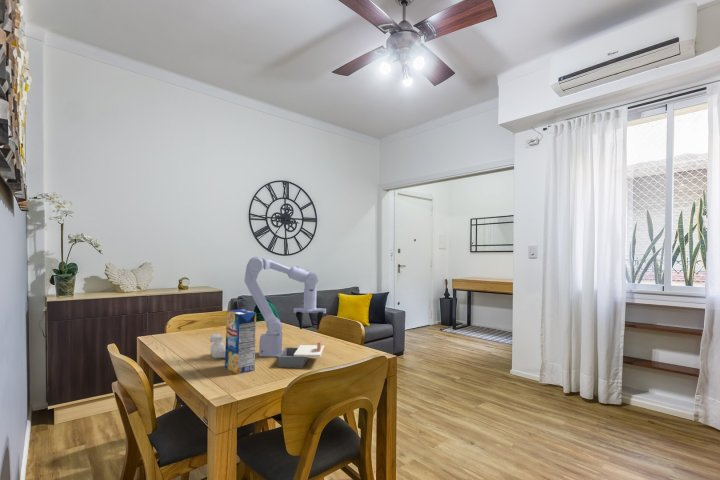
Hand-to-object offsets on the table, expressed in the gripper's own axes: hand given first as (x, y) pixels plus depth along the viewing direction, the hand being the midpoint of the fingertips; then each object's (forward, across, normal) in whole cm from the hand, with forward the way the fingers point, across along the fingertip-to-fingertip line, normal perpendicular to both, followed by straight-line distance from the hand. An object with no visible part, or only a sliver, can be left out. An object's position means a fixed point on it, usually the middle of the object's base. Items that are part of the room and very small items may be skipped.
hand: (309, 328), depth 164 cm
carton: (+10, -4, -15) cm, 19 cm away
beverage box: (+11, -23, -25) cm, 36 cm away
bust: (+11, -37, -11) cm, 40 cm away
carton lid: (+6, +2, -15) cm, 16 cm away
